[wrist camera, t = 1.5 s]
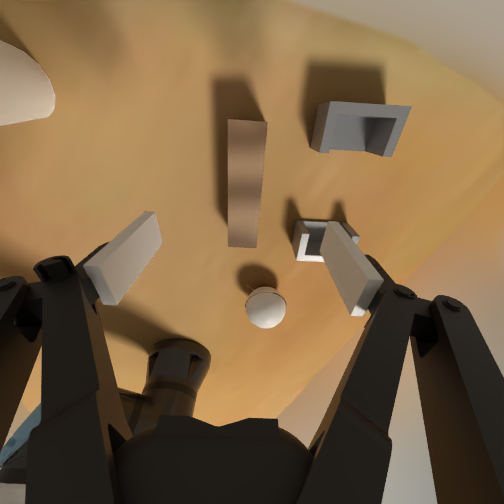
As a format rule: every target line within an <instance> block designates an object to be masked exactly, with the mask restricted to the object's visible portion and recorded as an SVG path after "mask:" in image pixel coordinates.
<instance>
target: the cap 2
mask: <svg viewBox="0 0 504 504" xmlns="http://www.w3.org/2000/svg"><path fill="white" fill-rule="evenodd" d="M411 107H412V106H398V105H383V104H368V103H353V102H338V101H329V102H324V103H320V104H318V107H317V112H316V118H315V123H314V128H313V133H312V139H311V144H310V148H312V149H314V150H316V151H317V152H319V153H329V150H330V149H335V150H352V151H366V152H370V153H373V154H377V155H380V156H386V157H392V155H393V152H394V150H395V147H396V145H397V142H398V140H399V137H400V135H401V132H402V130H403V127H404V125H405V122H406V120H407V117H408V115H409V112H410V109H411Z"/></svg>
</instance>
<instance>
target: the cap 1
mask: <svg viewBox="0 0 504 504" xmlns="http://www.w3.org/2000/svg"><path fill="white" fill-rule="evenodd" d="M327 223H328V221H308V220H296V224H295V229H294V234H293V240H292V248H293V251H294V254H295V258H296V261H318V262H325V261H324V259H323V257H322V255H321V253H320V248H321V244H322V241H323V237H324V234H325V230H326V227H327ZM339 224H340V225H341V226H342V227H343V229H344V230H345V231H346V232H347V234H348V235H349V236H350V238H351V239H352V240H353V241H354V243H355V244H356V245H357V243H358V240H359V238H360V236H359V235H358V234H357V233H356V232H355V230H354V229H353V228H352V227H351V226H350V225H349V224H348V223H347V222H339Z"/></svg>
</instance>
